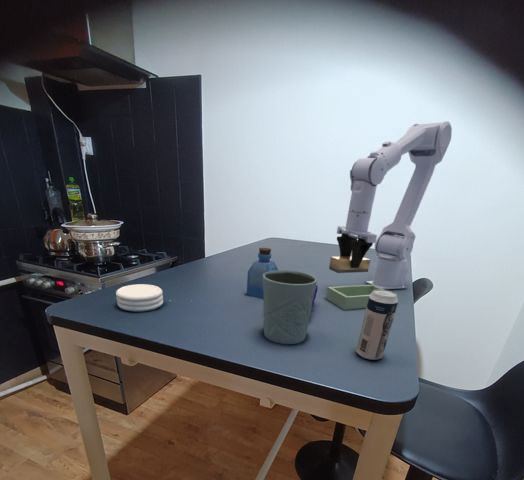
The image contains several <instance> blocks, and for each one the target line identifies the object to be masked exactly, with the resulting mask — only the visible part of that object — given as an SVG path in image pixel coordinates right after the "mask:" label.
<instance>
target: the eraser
mask: <svg viewBox="0 0 524 480" xmlns="http://www.w3.org/2000/svg"><path fill="white" fill-rule="evenodd" d="M351 259H352V255H351V256H342V257H340V256H330V259H329V265H328V269H329V270H330V271H333V272H334V273H336V274H348V273H349V274H351V273H369V268H370V264H371V258H367V257H365V256H364V257H363V259H362V261H361V263H360V266H359V268H351Z"/></svg>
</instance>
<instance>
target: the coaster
mask: <svg viewBox="0 0 524 480" xmlns="http://www.w3.org/2000/svg"><path fill="white" fill-rule="evenodd" d="M163 293H164V292H163V289H162V288H161V287H159V286H157V285H153V284H146V283H137V284H135V283H134V284H128V285H125V286H124V285H123V286H121V287H119V288H118V289H117V290H116V291H115V295H116V301H117V302H116V303H117V306H118V307H119V308H120V309H121V310H124V311H127V312H137V313H138V312H148V311H153V310H156V309H158V308H160V307H161V306H163V304H164V295H163Z"/></svg>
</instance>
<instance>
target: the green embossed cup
mask: <svg viewBox="0 0 524 480" xmlns="http://www.w3.org/2000/svg"><path fill="white" fill-rule="evenodd" d="M317 282H318V278H317V277H316V276H315V275H313V274H310V273H307V272H304V271H298V270H288V269H287V270H286V269H278V270H276V271H269V272H266V273H264V274H263V292H264V296H263V298H262V299H263V317H264V318H263V335H264V337H265V338H266V339H267V340H269V341H271V342H274V343H276V344H283V345H297V344H301V343H302V342H303V341H305V339H306V337H307V333H308V328H309V322H310V318H311V314H312V313H311V312H312V309H313V307H312V300H313V296H314V293H315V288H316V285H317V284H318V283H317Z"/></svg>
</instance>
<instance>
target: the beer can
mask: <svg viewBox="0 0 524 480" xmlns="http://www.w3.org/2000/svg"><path fill="white" fill-rule="evenodd" d="M398 304H399V298H398V294H397V293H396V292H394V291H391V290H388V289H385V290H378V289H377V290H373V292H372V293H371V294H370V295H369V299H368V303H367V308H365V312H364V316H363V320H362V324H361V329H360V333H359V338H358V342H357V346H356V349H355V350H356V353H357V354H358V355H359V356H360V357H361V358H363V359H366V360H371V361H375V360H379V359H382V358H383V357H384V353H385V350H386V346H387V343H388V339H389V336H390V332H391V329H392V325H393V322H394V318H395V315H396V311H397V308H398Z"/></svg>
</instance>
